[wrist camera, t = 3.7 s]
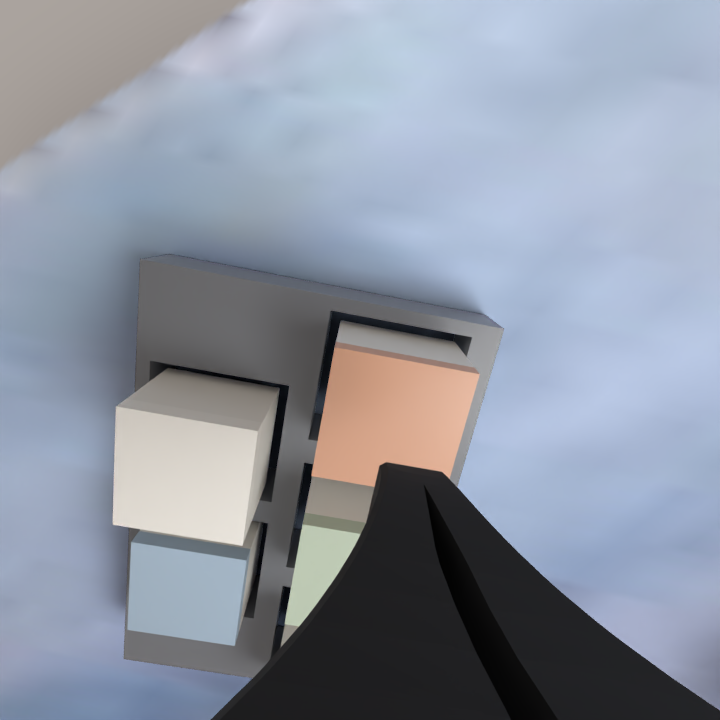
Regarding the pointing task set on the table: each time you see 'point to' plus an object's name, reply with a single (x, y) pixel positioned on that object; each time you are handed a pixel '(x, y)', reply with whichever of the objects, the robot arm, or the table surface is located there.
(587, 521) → the table surface
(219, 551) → the blue key
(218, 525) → the cream key
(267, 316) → the keypad board
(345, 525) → the sage key
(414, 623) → the robot arm
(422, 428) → the terracotta key
